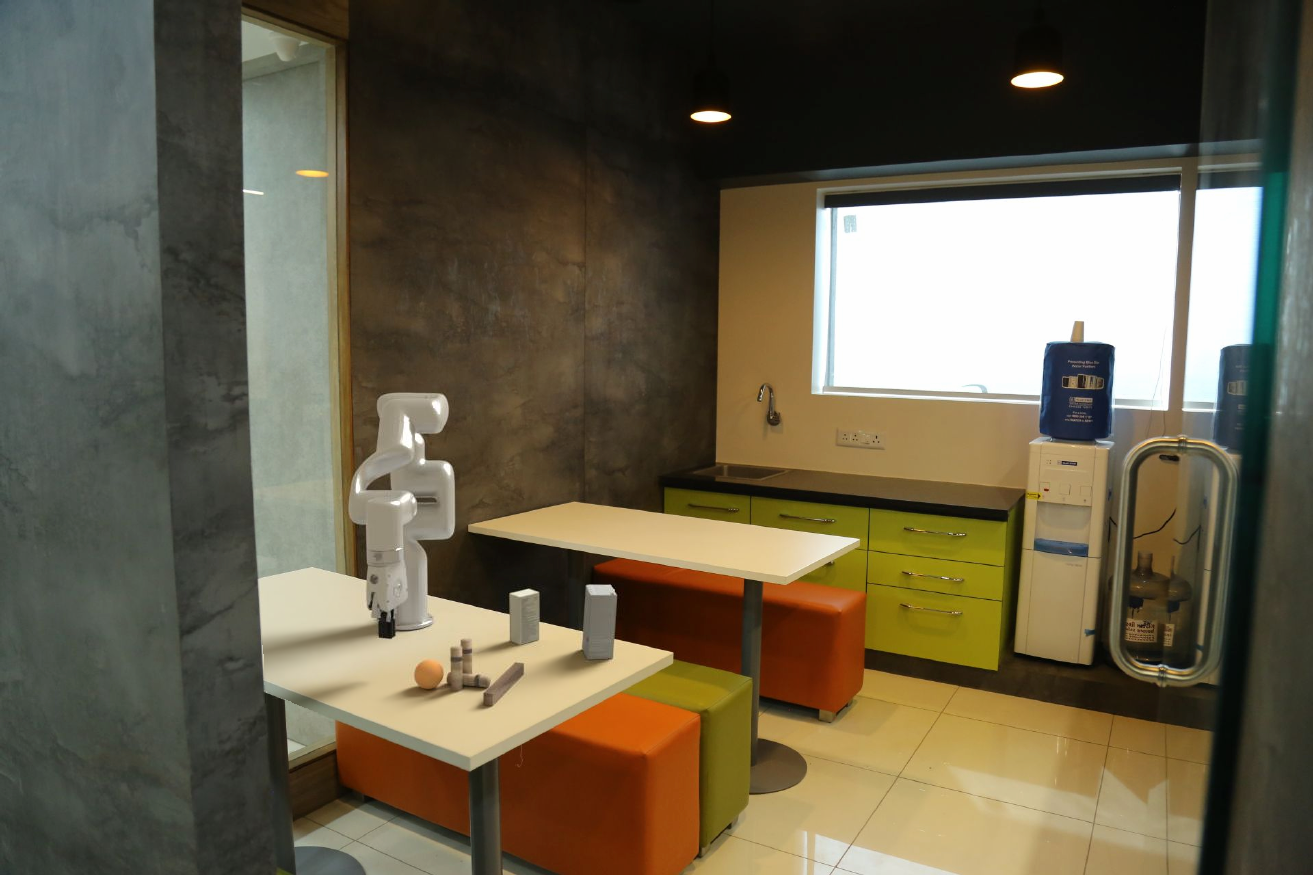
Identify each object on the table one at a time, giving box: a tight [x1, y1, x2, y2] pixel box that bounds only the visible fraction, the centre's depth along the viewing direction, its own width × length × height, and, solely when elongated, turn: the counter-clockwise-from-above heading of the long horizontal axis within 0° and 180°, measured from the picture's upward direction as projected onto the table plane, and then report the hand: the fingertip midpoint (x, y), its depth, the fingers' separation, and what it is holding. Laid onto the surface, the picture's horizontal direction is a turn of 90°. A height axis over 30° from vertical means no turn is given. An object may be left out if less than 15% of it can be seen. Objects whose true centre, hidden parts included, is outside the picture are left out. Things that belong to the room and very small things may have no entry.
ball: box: [413, 658, 445, 690], centre depth 185 cm, size 6×6×6 cm
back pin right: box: [449, 645, 463, 692], centre depth 184 cm, size 2×2×9 cm
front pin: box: [446, 671, 492, 688], centre depth 187 cm, size 2×2×9 cm
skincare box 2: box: [581, 584, 618, 661], centre depth 207 cm, size 8×7×16 cm
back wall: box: [482, 662, 525, 707], centre depth 185 cm, size 2×18×2 cm, turn 168°
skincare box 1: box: [508, 588, 540, 646], centre depth 216 cm, size 6×4×12 cm
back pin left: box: [460, 637, 473, 674], centre depth 189 cm, size 2×2×9 cm
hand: (387, 636), depth 191 cm, fingers closed
